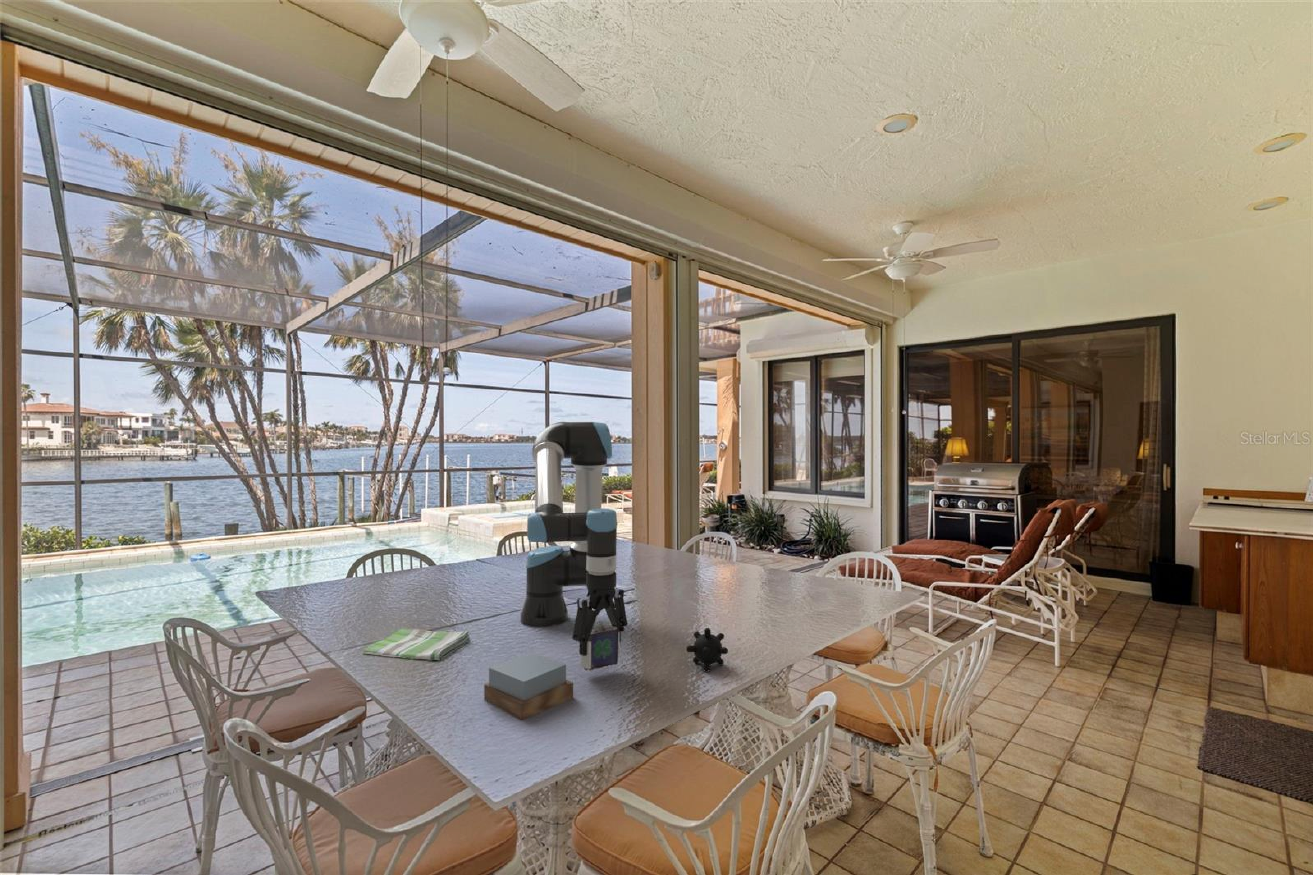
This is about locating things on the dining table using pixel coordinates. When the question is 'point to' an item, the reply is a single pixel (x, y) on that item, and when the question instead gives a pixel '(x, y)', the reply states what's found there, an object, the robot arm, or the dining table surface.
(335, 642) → the dining table surface
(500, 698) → the tower base block
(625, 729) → the dining table surface
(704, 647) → the toy ball
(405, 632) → the dish towel
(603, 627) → the flask
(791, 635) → the dining table surface
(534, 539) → the robot arm
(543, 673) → the tower top block
